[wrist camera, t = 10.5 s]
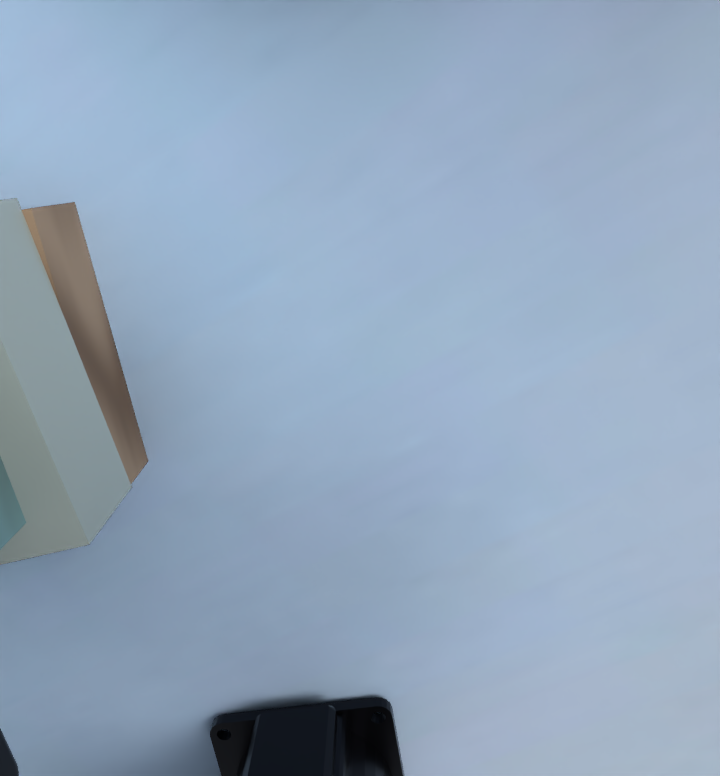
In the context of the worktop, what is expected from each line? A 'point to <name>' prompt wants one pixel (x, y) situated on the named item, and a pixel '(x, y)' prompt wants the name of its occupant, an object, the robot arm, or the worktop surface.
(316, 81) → the worktop surface
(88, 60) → the worktop surface
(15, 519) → the teal cube
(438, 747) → the worktop surface
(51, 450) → the tower top
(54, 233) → the tower base
